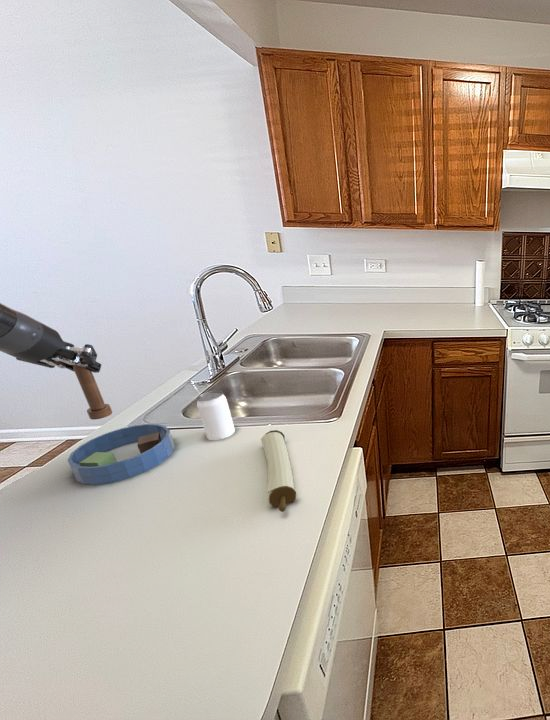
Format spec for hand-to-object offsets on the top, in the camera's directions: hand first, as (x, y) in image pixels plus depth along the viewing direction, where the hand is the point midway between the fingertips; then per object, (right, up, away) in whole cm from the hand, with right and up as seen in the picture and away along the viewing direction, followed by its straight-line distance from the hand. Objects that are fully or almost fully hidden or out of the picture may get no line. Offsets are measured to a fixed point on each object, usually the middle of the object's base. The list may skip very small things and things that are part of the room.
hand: (90, 369), depth 90 cm
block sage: (+3, -24, 0) cm, 24 cm away
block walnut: (+8, -21, +8) cm, 24 cm away
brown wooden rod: (0, -11, +2) cm, 11 cm away
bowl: (+4, -22, +5) cm, 23 cm away
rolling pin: (+43, -24, 0) cm, 50 cm away
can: (+20, -18, +16) cm, 31 cm away
